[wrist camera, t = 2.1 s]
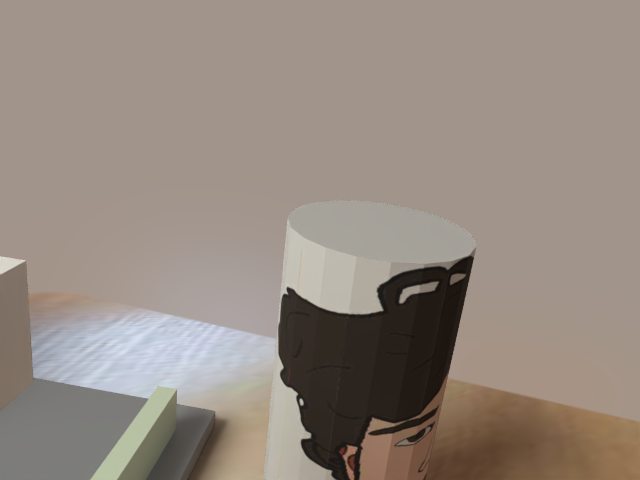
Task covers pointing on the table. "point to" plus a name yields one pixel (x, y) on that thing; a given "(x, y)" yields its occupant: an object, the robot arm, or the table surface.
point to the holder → (99, 435)
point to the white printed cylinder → (364, 340)
